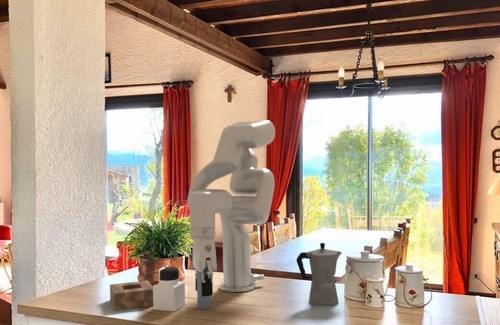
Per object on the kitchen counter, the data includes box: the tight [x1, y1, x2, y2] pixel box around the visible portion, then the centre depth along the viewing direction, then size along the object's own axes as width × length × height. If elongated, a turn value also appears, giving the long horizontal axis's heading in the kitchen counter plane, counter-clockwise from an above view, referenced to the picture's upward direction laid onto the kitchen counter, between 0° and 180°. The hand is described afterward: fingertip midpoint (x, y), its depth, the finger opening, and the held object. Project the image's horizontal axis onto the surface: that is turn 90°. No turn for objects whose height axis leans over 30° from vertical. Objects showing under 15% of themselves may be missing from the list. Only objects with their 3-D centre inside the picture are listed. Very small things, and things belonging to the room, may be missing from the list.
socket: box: [109, 280, 154, 311], centre depth 149 cm, size 12×12×5 cm
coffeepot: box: [296, 242, 342, 307], centre depth 146 cm, size 15×9×18 cm, turn 110°
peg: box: [196, 270, 212, 311], centre depth 143 cm, size 4×4×12 cm
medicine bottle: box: [152, 265, 186, 312], centre depth 144 cm, size 7×7×12 cm
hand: (203, 292), depth 143 cm, fingers open, 5 cm apart
